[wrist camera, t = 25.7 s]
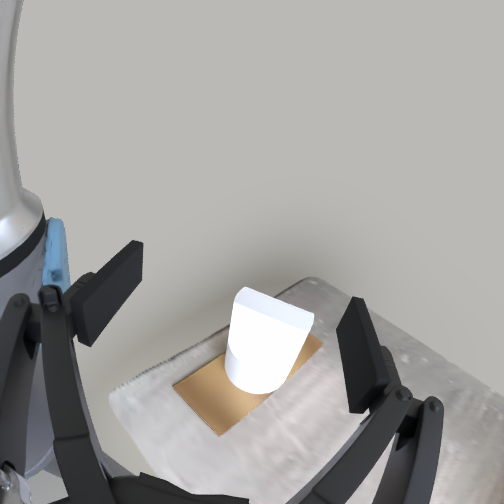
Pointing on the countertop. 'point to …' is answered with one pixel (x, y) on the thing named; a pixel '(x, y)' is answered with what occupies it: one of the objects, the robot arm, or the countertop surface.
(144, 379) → the countertop surface
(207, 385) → the tan rectangular plate
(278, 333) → the cylinder with rectangular tab
